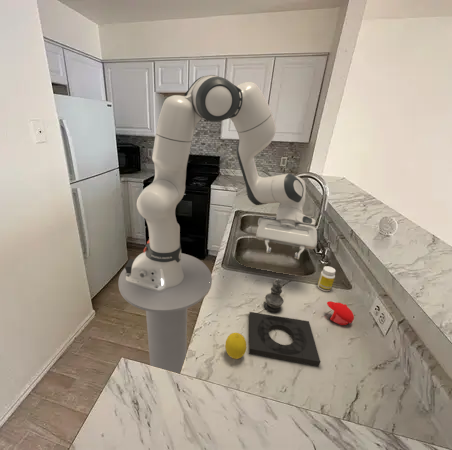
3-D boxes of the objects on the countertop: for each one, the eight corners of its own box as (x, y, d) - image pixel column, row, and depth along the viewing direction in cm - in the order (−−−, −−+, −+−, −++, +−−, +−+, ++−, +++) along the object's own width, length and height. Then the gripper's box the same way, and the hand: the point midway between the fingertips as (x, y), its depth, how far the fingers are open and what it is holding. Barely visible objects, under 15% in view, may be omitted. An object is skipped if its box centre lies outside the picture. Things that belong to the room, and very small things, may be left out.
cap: (350, 316, 83) (355, 302, 81) (352, 330, 78) (358, 315, 76) (323, 309, 86) (327, 295, 83) (323, 321, 81) (328, 307, 78)
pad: (249, 353, 70) (250, 348, 70) (248, 316, 83) (249, 311, 82) (318, 366, 67) (320, 361, 66) (307, 325, 80) (309, 321, 79)
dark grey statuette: (262, 310, 85) (268, 281, 80) (265, 299, 90) (270, 271, 85) (281, 315, 83) (287, 286, 78) (282, 303, 88) (288, 275, 83)
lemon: (240, 368, 66) (243, 347, 63) (220, 358, 69) (223, 337, 65) (247, 353, 71) (251, 332, 67) (229, 343, 73) (231, 323, 70)
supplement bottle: (333, 291, 94) (339, 273, 90) (320, 291, 94) (326, 273, 90) (327, 283, 98) (332, 265, 95) (314, 283, 98) (320, 265, 95)
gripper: (259, 211, 93) (251, 247, 89) (320, 221, 86) (315, 259, 82) (259, 218, 99) (252, 251, 95) (316, 227, 92) (311, 264, 88)
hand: (282, 255), depth 89 cm, fingers open, 8 cm apart
